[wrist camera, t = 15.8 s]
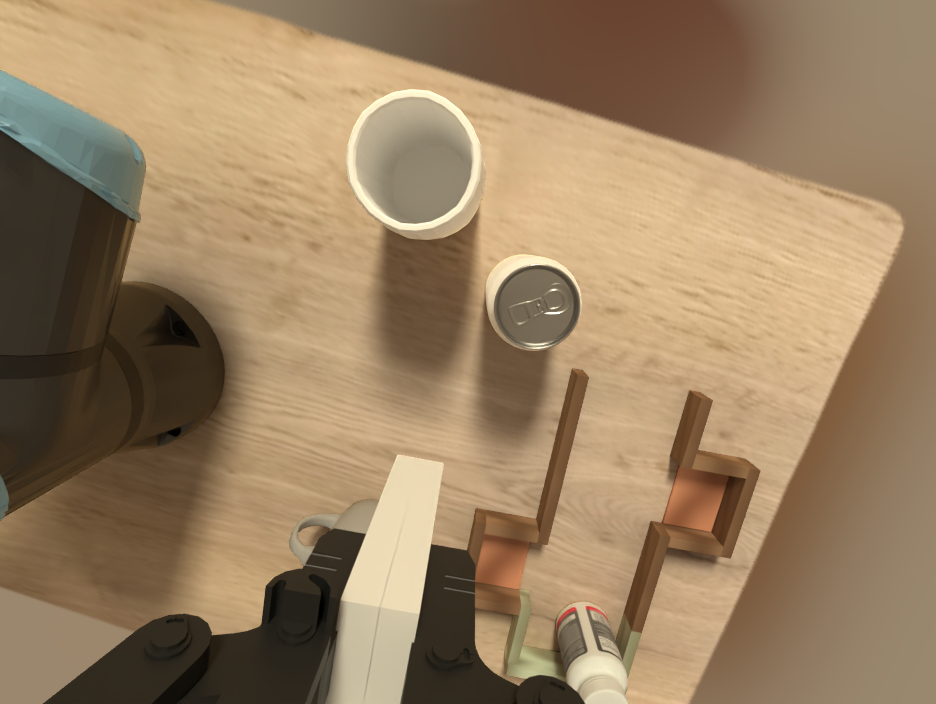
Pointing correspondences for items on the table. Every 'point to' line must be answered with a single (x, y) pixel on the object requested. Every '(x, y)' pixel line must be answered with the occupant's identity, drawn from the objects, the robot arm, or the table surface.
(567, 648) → the pill bottle
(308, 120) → the table surface
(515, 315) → the can
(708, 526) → the trap lane
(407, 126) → the cup
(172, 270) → the table surface
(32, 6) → the table surface
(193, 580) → the table surface
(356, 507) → the cup
